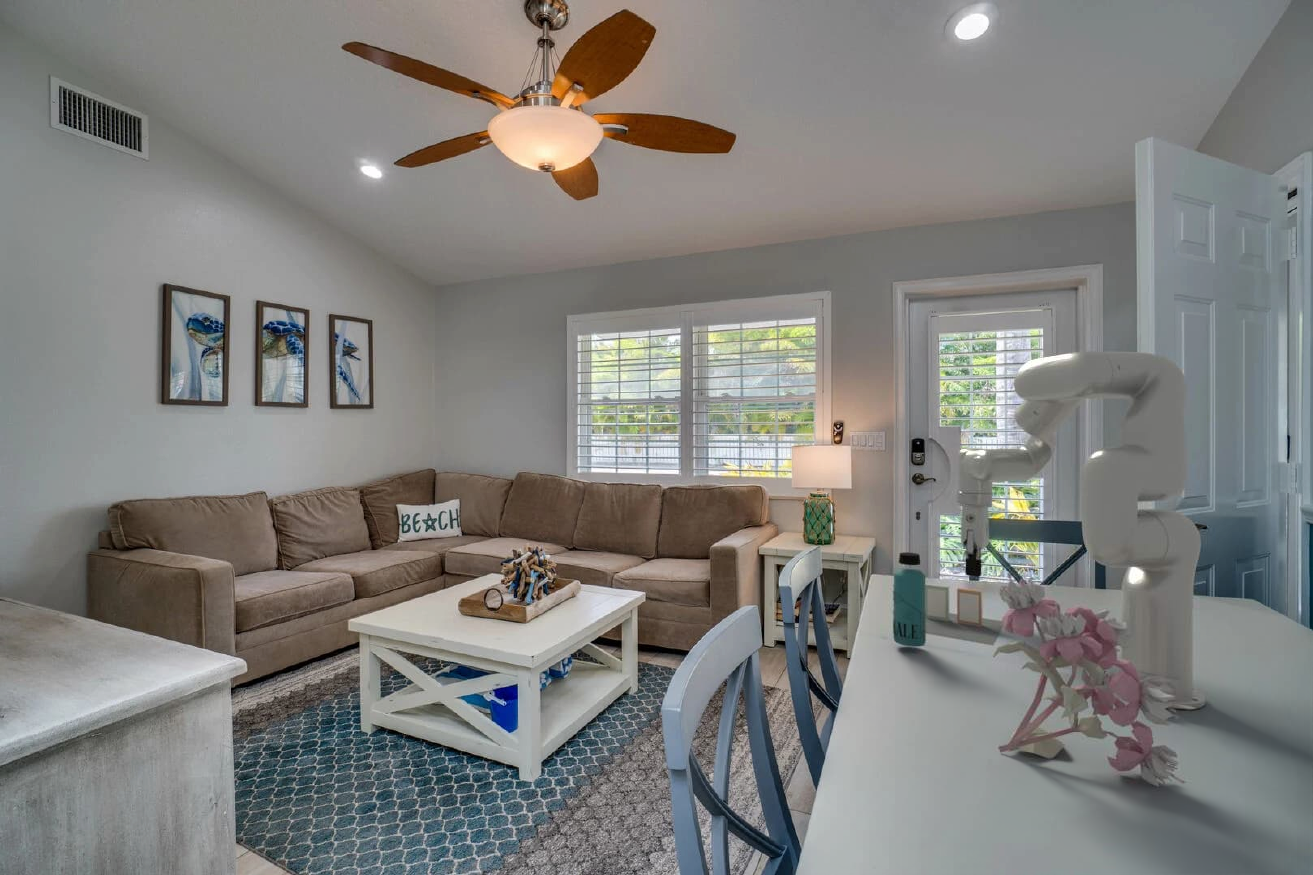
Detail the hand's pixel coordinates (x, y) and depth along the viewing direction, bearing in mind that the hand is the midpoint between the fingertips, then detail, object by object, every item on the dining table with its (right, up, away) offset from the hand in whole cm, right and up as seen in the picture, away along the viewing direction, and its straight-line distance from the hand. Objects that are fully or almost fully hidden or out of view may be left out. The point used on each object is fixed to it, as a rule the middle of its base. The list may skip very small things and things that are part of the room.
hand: (973, 575), depth 150 cm
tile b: (-10, -10, -2) cm, 14 cm away
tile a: (-4, -10, -6) cm, 12 cm away
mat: (-9, -11, -7) cm, 15 cm away
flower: (-18, -11, -67) cm, 70 cm away
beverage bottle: (-24, -11, -21) cm, 34 cm away
